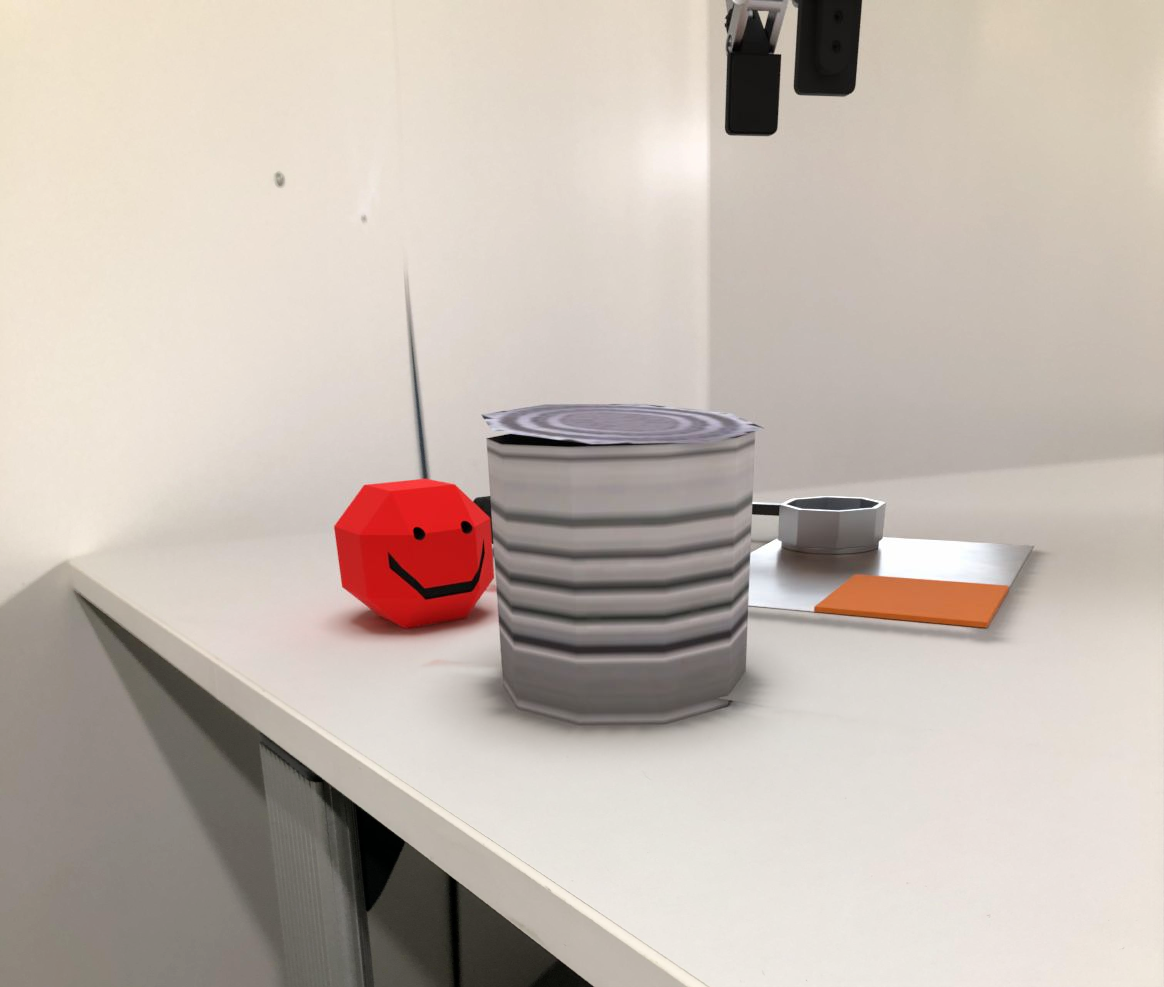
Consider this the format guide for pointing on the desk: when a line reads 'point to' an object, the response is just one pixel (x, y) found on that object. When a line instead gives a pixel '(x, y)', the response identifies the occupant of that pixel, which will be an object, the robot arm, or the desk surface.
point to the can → (621, 559)
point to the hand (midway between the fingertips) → (784, 116)
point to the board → (875, 569)
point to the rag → (916, 600)
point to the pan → (827, 523)
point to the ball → (415, 551)
